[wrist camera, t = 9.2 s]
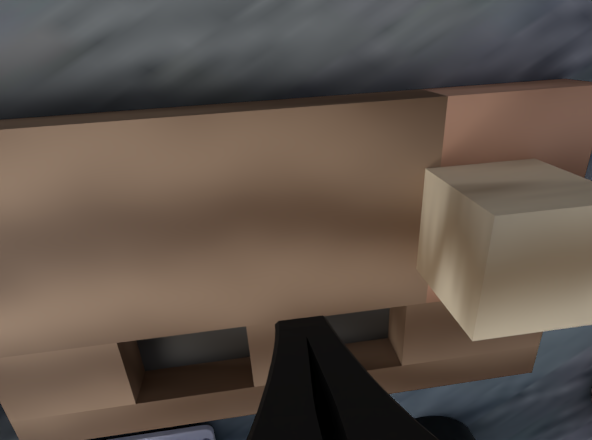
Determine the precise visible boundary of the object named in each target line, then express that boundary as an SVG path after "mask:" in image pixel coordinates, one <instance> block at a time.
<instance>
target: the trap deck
mask: <svg viewBox="0 0 592 440" xmlns="http://www.w3.org/2000/svg"><path fill="white" fill-rule="evenodd" d="M591 151H592V82H588V81H579V80H570V79H555V80H541V81H527V82H513V83H499V84H486V85H472V86H458V87H444V88H431V89H417V90H403V91H389V92H375V93H362V94H348V95H334V96H320V97H307V98H293V99H279V100H265V101H251V102H238V103H224V104H210V105H196V106H183V107H169V108H155V109H141V110H127V111H114V112H100V113H86V114H72V115H59V116H45V117H31V118H17V119H3V120H0V403H1V405H2V407H3V409H4V411H5V413H6V415H7V417H8V419H9V421H10V423H11V425H12V426H13V428H14V430H15V432H16V434H17V436H18V438H19V440H87V439H94V438H100V437H107V436H113V435H120V434H127V433H133V432H140V431H147V430H153V429H160V428H166V427H173V426H180V425H186V424H193V423H200V422H206V421H213V420H219V419H226V418H233V417H239V416H246V415H253V414H256V413H257V410H258V407H259V404H260V401H261V398H262V395H263V391H264V388H265V385H266V381H267V377H268V373H269V369H270V364H271V360H272V355H273V349H274V342H275V324H276V323H277V322H278V321H281V320H289V319H297V318H306V317H314V316H322V315H323V316H324V317H325V318H327V320H328V321H329V323H330V325H331V326H332V327H333V329H334V330H335V332H336V333H337V335H338V336H339V337H340V339H341V340H342V341H343V343H344V344H345V345H346V346H347V348H348V349H349V350H350V352H351V353H352V354H353V355H354V356H355V358H356V359H357V360H358V361H359V362H360V363H361V365H362V366H363V367H364V368H365V369H366V370H367V372H368V373H369V374H370V375H371V376H372V377H373V378H374V379H375V380H376V381H377V383H378V384H379V385H380V386H381V387H382V388H383V389H384V390H385V391H386V392H387V393H388V394H392V393H398V392H405V391H412V390H418V389H425V388H432V387H438V386H445V385H451V384H458V383H465V382H471V381H478V380H485V379H491V378H498V377H504V376H511V375H518V374H524V373H531V372H532V370H533V366H534V363H535V359H536V355H537V351H538V348H539V344H540V340H541V337H542V333H543V332H536V333H528V334H521V335H514V336H507V337H500V338H493V339H485V340H478V341H472V340H471V339H470V338H469V336H468V335H467V334H466V332H465V331H464V330H463V329H462V327H461V326H460V325H459V323H458V322H457V321H456V320H455V318H454V317H453V316H452V314H451V313H450V312H449V311H448V309H447V308H446V307H445V305H444V304H443V303H442V302H441V300H440V299H439V298H438V296H437V295H436V294H435V293H434V291H433V290H432V289H431V287H430V286H429V285H428V284H427V282H426V281H425V280H424V278H423V277H422V276H421V275H420V273H419V272H418V271H417V269H416V266H417V255H418V244H419V233H420V222H421V211H422V200H423V189H424V179H425V169H426V168H437V167H448V166H459V165H469V164H480V163H491V162H502V161H513V160H524V159H534V158H535V159H538V160H540V161H543V162H545V163H548V164H550V165H553V166H555V167H558V168H560V169H563V170H565V171H568V172H570V173H573V174H575V175H578V176H581V177H583V178H584V177H585V174H586V170H587V166H588V162H589V159H590V155H591Z"/></svg>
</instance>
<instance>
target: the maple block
mask: <svg viewBox="0 0 592 440" xmlns="http://www.w3.org/2000/svg"><path fill="white" fill-rule="evenodd" d="M416 269H417V271H418V272H419V273H420V275H421V276H422V277H423V278H424V280H425V281H426V282H427V284H428V285H429V286H430V287H431V289H432V290H433V291H434V293H435V294H436V295H437V296H438V298H439V299H440V300H441V302H442V303H443V304H444V305H445V307H446V308H447V309H448V311H449V312H450V313H451V314H452V316H453V317H454V318H455V320H456V321H457V322H458V323H459V325H460V326H461V327H462V329H463V330H464V331H465V332H466V334H467V335H468V336H469V338H470V339H471V340H472V341H478V340H485V339H493V338H500V337H507V336H514V335H521V334H528V333H536V332H543V331H550V330H557V329H564V328H571V327H579V326H586V325H592V181H591V180H588V179H586V178H583V177H581V176H578V175H575V174H573V173H570V172H568V171H565V170H563V169H560V168H558V167H555V166H553V165H550V164H548V163H545V162H543V161H540V160H538V159H535V158H534V159H524V160H513V161H502V162H491V163H480V164H469V165H459V166H448V167H437V168H426V169H425V179H424V189H423V200H422V211H421V222H420V233H419V244H418V255H417V266H416Z"/></svg>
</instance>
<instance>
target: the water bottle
mask: <svg viewBox="0 0 592 440" xmlns="http://www.w3.org/2000/svg"><path fill="white" fill-rule="evenodd" d="M415 420H417V421H418V422H419V423H420V424H421V425H422V426H423V427H425V428H426V429H427V430H428V431H429V432H431V433H432V434H433V435H434V436H435V437H436V438H438V439H439V440H475V438H474V436H473V435H472V433H471V432H470V430H469V429H468V428H467V427H466V426H465V425H464V424H463V423H461V422H459V421H457V420H455V419H452V418H448V417H441V416H430V417H422V418H417V419H415Z"/></svg>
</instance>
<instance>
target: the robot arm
mask: <svg viewBox="0 0 592 440" xmlns="http://www.w3.org/2000/svg"><path fill="white" fill-rule="evenodd" d="M108 440H215V435H214V430H213V428H212V427H211V426H210V425H200V426H193V427H187V428H180V429H174V430H167V431H160V432H154V433H147V434H141V435H134V436H128V437H121V438H114V439H108ZM247 440H439V439H438V438H436V437H435V436H434V435H433V434H432V433H431V432H429V431H428V430H427V429H426V428H425V427H423V426H422V425H421V424H420V423H419V422H418V421H417V420H415V419H414V418H413V417H412V416H411V415H410V414H409V413H408V412H407V411H405V410H404V409H403V408H402V407H401V406H400V405H399V404H398V403H397V402H396V401H395V400H394V399H393V398H392V397H391V396H390V395H389V394H388V393H387V392H386V391H385V390H384V389H383V388H382V387H381V386H380V385H379V384H378V383H377V381H376V380H375V379H374V378H373V377H372V376H371V375H370V374H369V373H368V372H367V370H366V369H365V368H364V367H363V366H362V365H361V363H360V362H359V361H358V360H357V359H356V358H355V356H354V355H353V354H352V353H351V352H350V350H349V349H348V348H347V346H346V345H345V344H344V343H343V341H342V340H341V339H340V337H339V336H338V335H337V333H336V332H335V330H334V329H333V327H332V326H331V325H330V323H329V321H328V320H327V318H325V317H324V316H323V315H322V316H314V317H306V318H297V319H289V320H281V321H278V322H277V323H276V324H275V342H274V349H273V355H272V360H271V364H270V369H269V373H268V377H267V381H266V385H265V388H264V391H263V395H262V398H261V401H260V404H259V407H258V410H257V413H256V416H255V419H254V422H253V424H252V427H251V430H250V432H249V435H248V437H247Z"/></svg>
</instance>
